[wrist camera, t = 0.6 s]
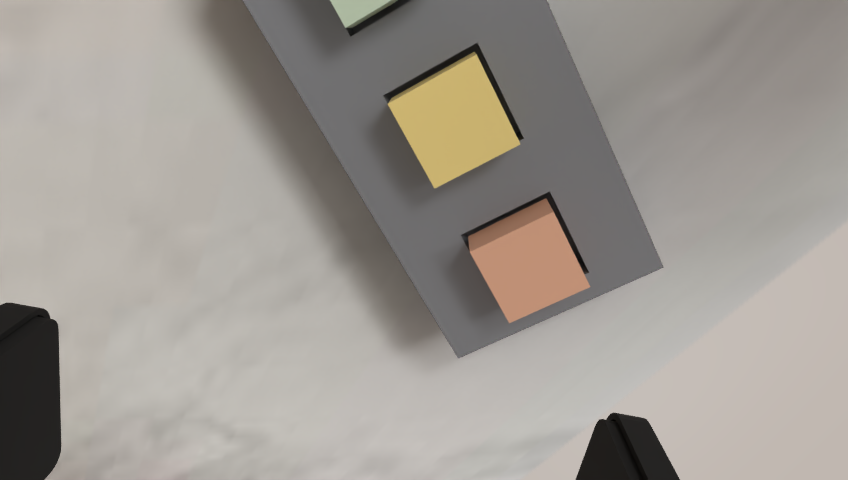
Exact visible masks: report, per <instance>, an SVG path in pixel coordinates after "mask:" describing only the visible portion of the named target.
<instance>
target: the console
mask: <svg viewBox="0 0 848 480" xmlns="http://www.w3.org/2000/svg"><path fill="white" fill-rule="evenodd" d="M243 2H244V4H245V5H246V7H247V9H248V10H249V12H250V14H251V15H252V17H253V18H254V20H255V22H256V23H257V25H258V27H259V28H260V30H261V32H262V33H263V35H264V37H265V38H266V40H267V42H268V43H269V45H270V47H271V48H272V50H273V52H274V53H275V55H276V57H277V58H278V60H279V62H280V63H281V65H282V67H283V68H284V70H285V72H286V73H287V75H288V77H289V78H290V80H291V82H292V83H293V85H294V87H295V88H296V90H297V92H298V93H299V95H300V97H301V98H302V100H303V102H304V103H305V105H306V107H307V108H308V110H309V111H310V113H311V115H312V116H313V118H314V120H315V121H316V123H317V125H318V126H319V128H320V130H321V131H322V133H323V135H324V136H325V138H326V140H327V141H328V143H329V145H330V146H331V148H332V150H333V151H334V153H335V155H336V156H337V158H338V160H339V161H340V163H341V165H342V166H343V168H344V170H345V171H346V173H347V175H348V176H349V178H350V180H351V181H352V183H353V185H354V186H355V188H356V190H357V191H358V193H359V195H360V196H361V198H362V200H363V201H364V203H365V205H366V206H367V208H368V209H369V211H370V213H371V214H372V216H373V218H374V219H375V221H376V223H377V224H378V226H379V228H380V229H381V231H382V233H383V234H384V236H385V238H386V239H387V241H388V243H389V244H390V246H391V248H392V249H393V251H394V253H395V254H396V256H397V258H398V259H399V261H400V263H401V264H402V266H403V268H404V269H405V271H406V273H407V274H408V276H409V278H410V279H411V281H412V283H413V284H414V286H415V288H416V289H417V291H418V293H419V294H420V296H421V298H422V299H423V301H424V303H425V304H426V306H427V307H428V309H429V311H430V312H431V314H432V316H433V317H434V319H435V321H436V322H437V324H438V326H439V327H440V329H441V331H442V332H443V334H444V336H445V337H446V339H447V341H448V342H449V344H450V346H451V347H452V349H453V351H454V352H455V354H456V356H457V357H458V358H460V357H463V356H465V355H467V354H469V353H472V352H474V351H476V350H478V349H481V348H483V347H485V346H488V345H490V344H492V343H494V342H497V341H499V340H501V339H503V338H506V337H508V336H510V335H512V334H515V333H517V332H519V331H521V330H524V329H526V328H528V327H530V326H533V325H535V324H537V323H539V322H542V321H544V320H546V319H548V318H551V317H553V316H555V315H557V314H560V313H562V312H564V311H566V310H569V309H571V308H573V307H575V306H578V305H580V304H582V303H584V302H587V301H589V300H591V299H593V298H596V297H598V296H600V295H602V294H605V293H607V292H609V291H612V290H614V289H616V288H618V287H621V286H623V285H625V284H627V283H630V282H632V281H634V280H636V279H639V278H641V277H643V276H645V275H648V274H650V273H652V272H654V271H657V270H659V269H661V268H663V265H662V263H661V260H660V258H659V256H658V253H657V251H656V249H655V247H654V244H653V242H652V240H651V238H650V235H649V233H648V231H647V228H646V226H645V224H644V222H643V219H642V217H641V215H640V212H639V210H638V208H637V206H636V203H635V201H634V199H633V196H632V194H631V192H630V190H629V187H628V185H627V183H626V180H625V178H624V176H623V174H622V171H621V169H620V167H619V164H618V162H617V160H616V158H615V155H614V153H613V151H612V148H611V146H610V144H609V142H608V139H607V137H606V135H605V132H604V130H603V128H602V126H601V123H600V121H599V119H598V116H597V114H596V112H595V110H594V107H593V105H592V103H591V100H590V98H589V96H588V94H587V91H586V89H585V87H584V84H583V82H582V80H581V78H580V75H579V73H578V71H577V68H576V66H575V64H574V62H573V59H572V57H571V55H570V52H569V50H568V48H567V46H566V43H565V41H564V39H563V36H562V34H561V32H560V30H559V27H558V25H557V23H556V20H555V18H554V16H553V14H552V11H551V9H550V7H549V4H548V2H547V0H398V1H396V2H395V3H393V4H391V5H390V6H388V7H386V8H385V9H383V10H381V11H380V12H378V13H376V14H375V15H373V16H371V17H370V18H368V19H366V20H365V21H363V22H361V23H360V24H358V25H356V26H355V27H351V28H345V26H344V25H343V23H342V21H341V19H340V17H339V16H338V14H337V12H336V10H335V8H334V7H333V5H332V3H331V1H330V0H243ZM473 52H475V53H476V54H477V56H478V58H479V60H480V62H481V64H482V67H483V69H484V71H485V73H486V75H487V77H488V79H489V81H490V83H491V85H492V87H493V89H494V91H495V93H496V95H497V97H498V99H499V101H500V103H501V105H502V107H503V109H504V111H505V113H506V115H507V118H508V120H509V122H510V124H511V126H512V128H513V130H514V132H515V134H516V136H517V138H518V140H519V142H520V145H518V146H516V147H515V148H513V149H511V150H509V151H507V152H505V153H503V154H501V155H499V156H497V157H495V158H493V159H491V160H489V161H487V162H485V163H483V164H482V165H480V166H478V167H476V168H474V169H472V170H470V171H468V172H466V173H464V174H462V175H460V176H458V177H456V178H454V179H452V180H450V181H448V182H447V183H445V184H443V185H441V186H439V187H437V188H435V189H434V187H433V185H432V183H431V181H430V180H429V178H428V176H427V174H426V172H425V171H424V169H423V167H422V165H421V163H420V162H419V160H418V158H417V156H416V154H415V153H414V151H413V149H412V147H411V145H410V144H409V142H408V140H407V138H406V136H405V135H404V133H403V131H402V129H401V127H400V126H399V124H398V122H397V120H396V118H395V117H394V115H393V113H392V111H391V109H390V107H389V106H388V103H389V101H390V100H391V98H392V97H394V96H396V95H398V94H399V93H401V92H403V91H405V90H407V89H408V88H410V87H412V86H414V85H415V84H417V83H419V82H421V81H423V80H424V79H426V78H428V77H430V76H432V75H433V74H435V73H437V72H439V71H440V70H442V69H444V68H446V67H448V66H449V65H451V64H453V63H455V62H457V61H458V60H460V59H462V58H464V57H465V56H467V55H469V54H471V53H473ZM545 198H546V199H547V201H548V202H549V204H550V206H551V208H552V210H553V211H554V213H555V216H556V218H557V220H558V222H559V224H560V226H561V228H562V230H563V232H564V234H565V236H566V238H567V240H568V242H569V244H570V246H571V248H572V250H573V252H574V254H575V256H576V258H577V260H578V262H579V265H580V267H581V269H582V271H583V273H584V275H585V277H586V279H587V281H588V283H589V285H590V287H589V288H587V289H585V290H583V291H580V292H578V293H576V294H574V295H571V296H569V297H567V298H565V299H562V300H560V301H558V302H556V303H554V304H551V305H549V306H547V307H545V308H542V309H540V310H538V311H536V312H533V313H531V314H529V315H527V316H525V317H522V318H520V319H518V320H516V321H513V322H511V323H509V322H508V320H507V318H506V317H505V315H504V313H503V311H502V309H501V308H500V306H499V304H498V302H497V300H496V299H495V297H494V295H493V293H492V291H491V290H490V288H489V286H488V284H487V282H486V281H485V279H484V277H483V275H482V273H481V272H480V270H479V268H478V266H477V264H476V263H475V261H474V259H473V257H472V255H471V253H470V250H469V240H468V236H470V235H472V234H474V233H476V232H478V231H480V230H482V229H484V228H486V227H488V226H490V225H492V224H494V223H496V222H498V221H500V220H502V219H504V218H506V217H508V216H510V215H512V214H514V213H517V212H519V211H521V210H523V209H525V208H527V207H529V206H531V205H533V204H535V203H537V202H539V201H541V200H543V199H545Z"/></svg>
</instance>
